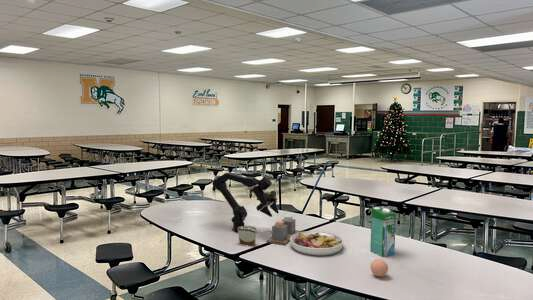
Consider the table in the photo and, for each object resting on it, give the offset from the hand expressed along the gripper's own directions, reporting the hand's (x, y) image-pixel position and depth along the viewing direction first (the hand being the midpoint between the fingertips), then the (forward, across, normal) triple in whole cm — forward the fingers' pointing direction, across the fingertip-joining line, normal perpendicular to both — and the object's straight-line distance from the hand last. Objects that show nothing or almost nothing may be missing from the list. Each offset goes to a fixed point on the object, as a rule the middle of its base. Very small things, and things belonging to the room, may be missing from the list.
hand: (275, 214), depth 227 cm
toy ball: (+55, -28, -42) cm, 75 cm away
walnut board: (+14, +1, +5) cm, 15 cm away
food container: (+6, -19, +15) cm, 25 cm away
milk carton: (+53, +3, -39) cm, 66 cm away
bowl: (+30, -6, -12) cm, 33 cm away
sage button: (+7, +8, -1) cm, 11 cm away
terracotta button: (+7, -6, -2) cm, 10 cm away
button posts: (+13, +1, +4) cm, 14 cm away
